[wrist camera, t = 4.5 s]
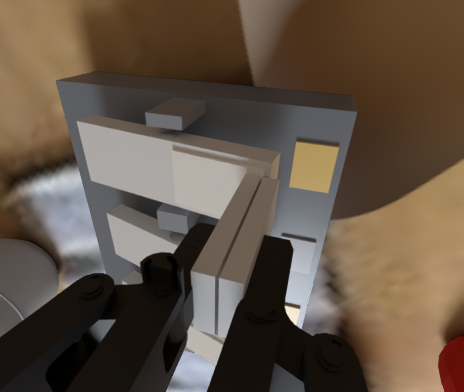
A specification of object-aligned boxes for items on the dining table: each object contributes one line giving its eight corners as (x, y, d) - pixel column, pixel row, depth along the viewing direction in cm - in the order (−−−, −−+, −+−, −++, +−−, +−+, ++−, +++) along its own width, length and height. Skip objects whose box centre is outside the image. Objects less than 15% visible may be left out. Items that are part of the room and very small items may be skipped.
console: (94, 71, 23) (8, 91, 17) (352, 95, 19) (364, 133, 13) (132, 267, 34) (89, 323, 28) (300, 309, 30) (293, 384, 24)
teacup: (17, 212, 35) (-56, 258, 28) (87, 273, 37) (36, 329, 31) (-17, 255, 42) (-82, 300, 35) (43, 304, 44) (-6, 355, 38)
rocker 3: (134, 269, 26) (120, 281, 25) (254, 335, 21) (244, 353, 20) (140, 300, 28) (127, 312, 27) (251, 366, 23) (241, 385, 22)
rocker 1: (94, 114, 18) (73, 121, 17) (280, 151, 14) (270, 163, 13) (106, 172, 21) (89, 182, 19) (271, 219, 17) (262, 235, 15)
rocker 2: (121, 203, 23) (104, 213, 21) (263, 264, 18) (251, 282, 16) (129, 244, 25) (114, 255, 24) (258, 309, 20) (247, 327, 19)
